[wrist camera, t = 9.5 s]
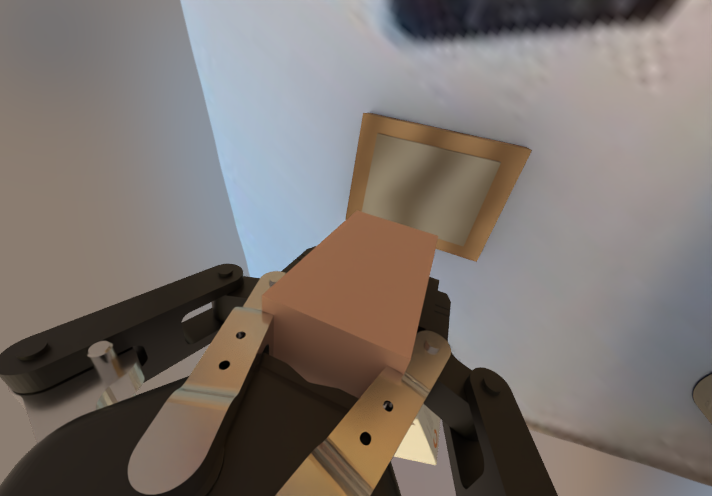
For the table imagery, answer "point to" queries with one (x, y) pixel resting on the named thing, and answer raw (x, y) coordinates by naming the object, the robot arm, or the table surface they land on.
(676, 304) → the table surface
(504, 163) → the walnut plinth
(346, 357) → the terracotta block
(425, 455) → the small box
